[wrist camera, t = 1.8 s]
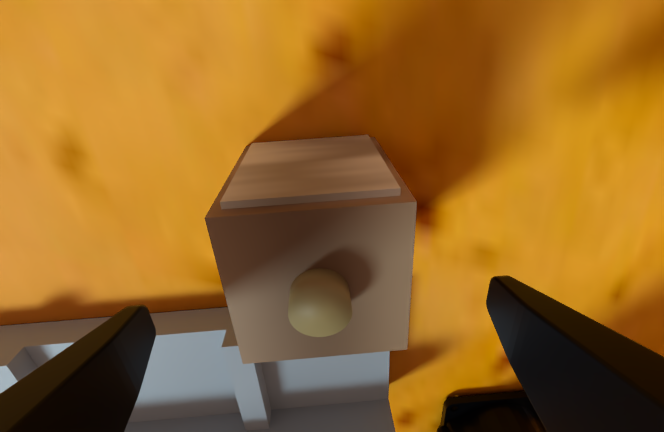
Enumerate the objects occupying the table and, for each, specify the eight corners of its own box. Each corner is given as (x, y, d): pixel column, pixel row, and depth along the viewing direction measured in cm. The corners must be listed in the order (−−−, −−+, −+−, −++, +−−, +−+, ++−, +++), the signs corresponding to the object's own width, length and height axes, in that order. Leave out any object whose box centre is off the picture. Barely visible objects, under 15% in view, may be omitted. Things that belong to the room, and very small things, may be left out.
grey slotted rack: (384, 294, 17) (403, 361, 13) (382, 388, 20) (398, 462, 17) (-112, 335, 16) (-229, 416, 13) (-31, 425, 20) (-105, 510, 16)
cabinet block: (374, 131, 13) (427, 208, 7) (374, 244, 16) (414, 372, 10) (245, 140, 13) (192, 227, 7) (265, 253, 16) (237, 388, 10)
